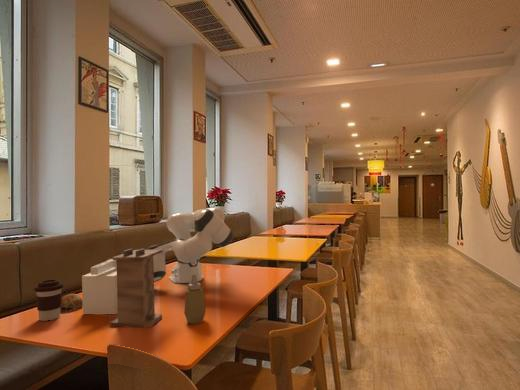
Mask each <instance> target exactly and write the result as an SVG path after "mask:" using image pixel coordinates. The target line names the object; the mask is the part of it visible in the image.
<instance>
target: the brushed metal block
mask: <svg viewBox="0 0 520 390" xmlns="http://www.w3.org/2000/svg"><path fill="white" fill-rule="evenodd" d="M110 259H111V260H108V259H107V260H108V261H107V260H106V261H103V262H101V263H98V264H95V265H94V266H91V267H90V273H91V275H98V274H101V273H103V272H105V271H107V270H110V269H112V268H114V267H116V266H117V260H113V258H110Z"/></svg>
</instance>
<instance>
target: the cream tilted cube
mask: <svg viewBox="0 0 520 390" xmlns="http://www.w3.org/2000/svg"><path fill="white" fill-rule="evenodd" d="M81 288H82V289H81V292H82V297H81V298H82V302H83V306H82V315H83V314H116V313H117V314H118V308H117V267H114V268H112V269H110V270H107V271H105V272H103V273H101V274H98V275H91V272H88V273H86V274H84V275H82V276H81ZM117 314H116V315H117Z"/></svg>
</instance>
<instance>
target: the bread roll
mask: <svg viewBox="0 0 520 390" xmlns="http://www.w3.org/2000/svg"><path fill="white" fill-rule="evenodd" d="M80 307H81V308H83V302H82V297H81V296H80V295H79V294H76V293H69V294H65V295H63V296H62V300H61V307H60V312H70V310H72V311H75V310H74V309H76V310H79V309H80ZM78 308H79V309H78Z"/></svg>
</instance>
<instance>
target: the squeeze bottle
mask: <svg viewBox="0 0 520 390" xmlns="http://www.w3.org/2000/svg"><path fill="white" fill-rule="evenodd" d="M187 284H188V288H187V290H186V292H185V299H184V300H185V301H184V312H183V313H184V316H185V319H186V321H187V323H188V324H190V325H193V324H194V325H195V324H200V323H202V322H203V321H204V319H205V317H206V316H205V315H206V312H207V311H206V303H205V302H206V301H205V295H204V294H205V293H204V290H203V288H202V287H201V283H200V282H199V281H198V282H197V278H196V274H193V275H192V281H191V283H187Z"/></svg>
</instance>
